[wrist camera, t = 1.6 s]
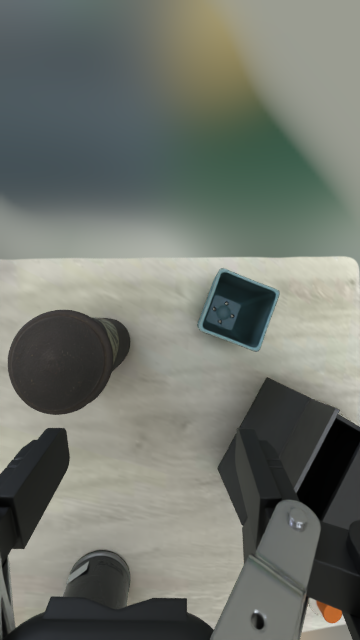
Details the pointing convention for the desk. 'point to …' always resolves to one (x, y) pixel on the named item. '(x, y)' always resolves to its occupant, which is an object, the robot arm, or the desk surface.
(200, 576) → the desk surface
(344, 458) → the carton
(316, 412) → the flap
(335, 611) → the orange-capped white cylinder
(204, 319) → the flower pot
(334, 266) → the desk surface
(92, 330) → the container
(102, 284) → the desk surface
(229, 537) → the desk surface
